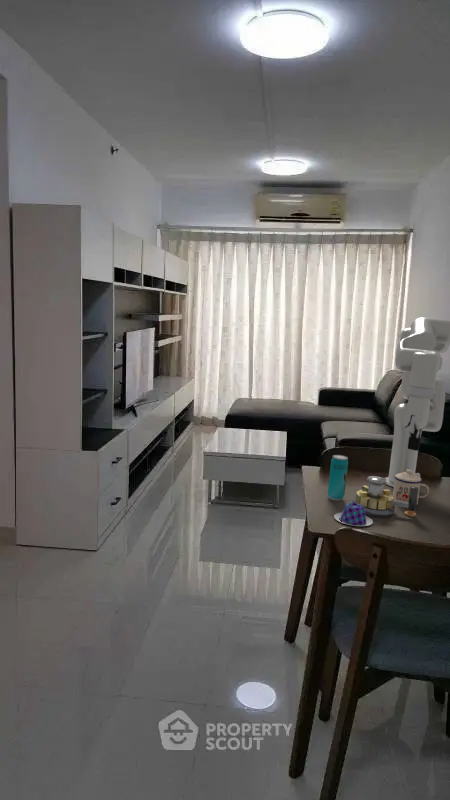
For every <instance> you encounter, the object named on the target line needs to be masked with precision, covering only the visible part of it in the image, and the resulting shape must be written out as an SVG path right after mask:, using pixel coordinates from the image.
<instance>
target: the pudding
mask: <svg viewBox="0 0 450 800" xmlns="http://www.w3.org/2000/svg"><path fill="white" fill-rule="evenodd" d="M333 517H334V519H335V520H336V521H338V522H339V523H341V524H345V525H347V526H354V527H366V526H367V527H368V526H371V525H372V524H373V523H374V521H373V519H372V518H371V517H370V516H366V515H365V508H364V507H363V505H361V504H358V503H352V502H347V503H346V504H345V505H344V508H343V510H342V512H337V513H335V514H334V515H333ZM339 518H340V520H342V522H341V521H340V520H339Z"/></svg>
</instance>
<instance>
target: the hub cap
mask: <svg viewBox="0 0 450 800" xmlns="http://www.w3.org/2000/svg"><path fill="white" fill-rule="evenodd" d="M366 480H367V481H368V485H367V486H368V496H367V497H370V498H375V499H381V495H383V490H384V487H385V485H386V484H385V483H386V479H385V477H380V476H375V475H371V476H367V479H366ZM351 503H357V502H356V498H354V499H352V501H351ZM363 507H364V506H363ZM364 508H365V515H366V516H367V517H369V518H378V519H380V518H381V519H387V518H392V517H394V516H395V514H396V506H394V505H392V508H390V509H385V510H382V509H377V508H376V509H372V508H368V507H364Z"/></svg>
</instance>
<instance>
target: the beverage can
mask: <svg viewBox="0 0 450 800" xmlns="http://www.w3.org/2000/svg"><path fill="white" fill-rule="evenodd" d="M348 459H349V458H348V456H346V455H342V454H334V455H332V458H331V460H330V470H329V477H328V478H329V480H328V487H327V496H328V499H330V500H332V501H337V502H340V501H343V499H344V497H345V492H346V485H347V476H348V475H347V474H348V467H349V460H348Z"/></svg>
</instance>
